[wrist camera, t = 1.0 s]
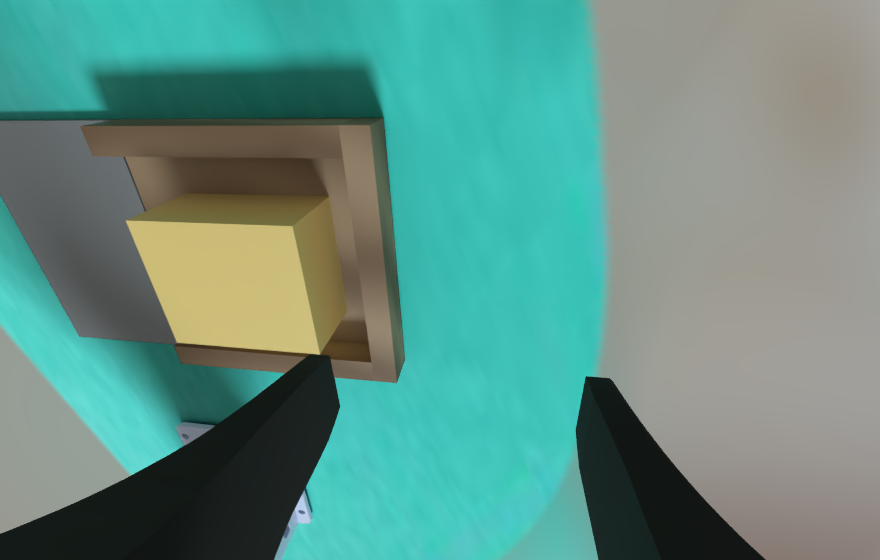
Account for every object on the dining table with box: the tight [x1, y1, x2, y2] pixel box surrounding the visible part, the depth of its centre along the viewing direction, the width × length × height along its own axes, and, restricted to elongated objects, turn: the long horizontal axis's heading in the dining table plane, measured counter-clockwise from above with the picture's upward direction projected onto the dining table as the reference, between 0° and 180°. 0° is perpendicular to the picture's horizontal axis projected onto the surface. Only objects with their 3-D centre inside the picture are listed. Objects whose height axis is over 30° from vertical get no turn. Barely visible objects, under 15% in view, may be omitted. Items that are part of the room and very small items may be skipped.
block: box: [126, 193, 348, 354], centre depth 19 cm, size 6×7×4 cm
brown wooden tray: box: [80, 118, 405, 383], centre depth 20 cm, size 12×12×2 cm
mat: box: [0, 119, 177, 345], centre depth 22 cm, size 12×8×1 cm, turn 2°
